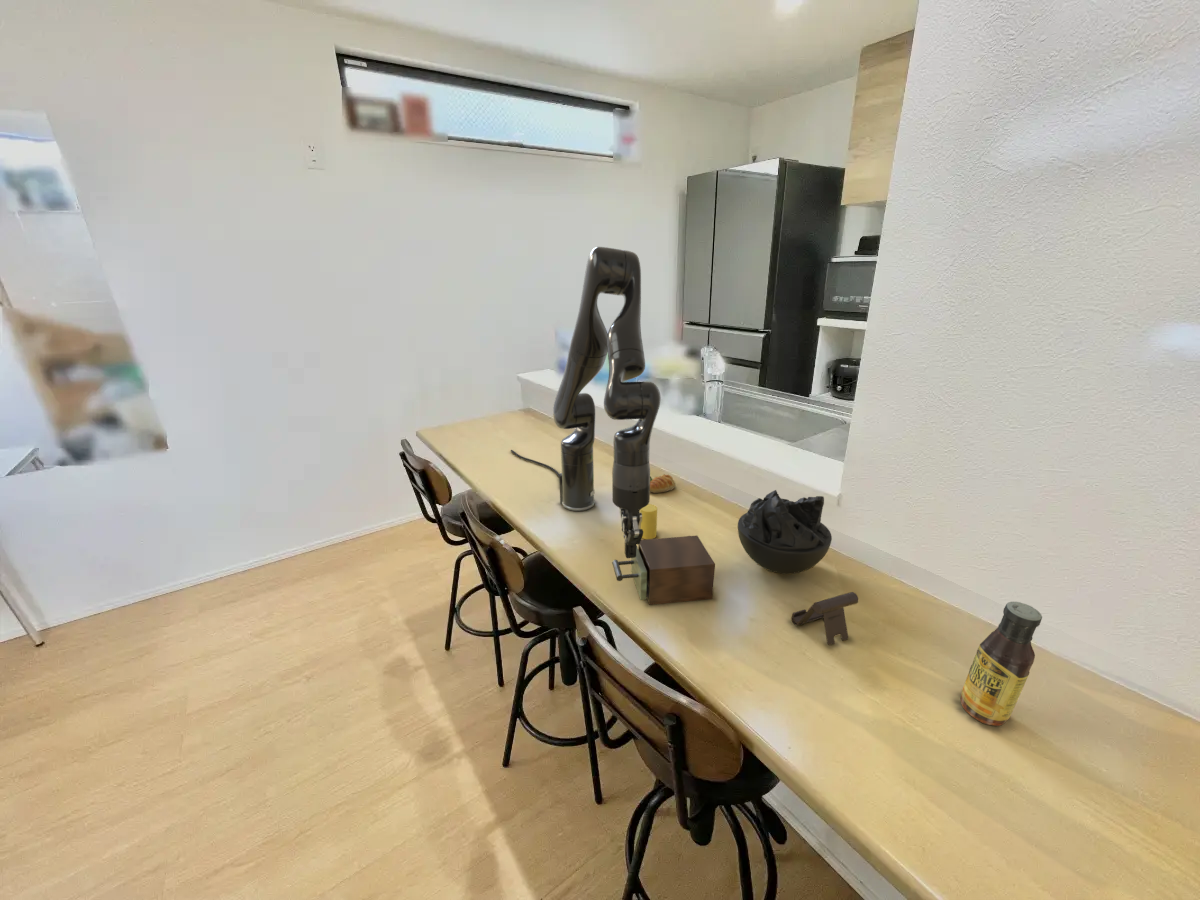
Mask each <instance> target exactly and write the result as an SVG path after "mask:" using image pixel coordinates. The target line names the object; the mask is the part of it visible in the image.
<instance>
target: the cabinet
mask: <svg viewBox="0 0 1200 900" xmlns="http://www.w3.org/2000/svg"><path fill="white" fill-rule="evenodd" d="M637 548H638V550H639V553H640V555H641V558H642V560H643V556H644V558H645V561H646V563H647V566H648V569H649V587H648V584H647V591H646V601H647V603H648V605H649V606H651V605H664V604H673V603H684V602H691V601H692V602H695V601H704V600H712V599H713V594H714V583H715V571H716V563H715V562H714V559H713V558H712V557H711V554H710V553H709V552H708V549H706V547H705V545H704V543H703V542H702V541H701V539H700V537H699V535H686V536H685V535H684V536H674V537H673V536H672V537H662V538H661V537H660V538H654V539H641V541H640V544H637Z"/></svg>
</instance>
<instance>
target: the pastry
mask: <svg viewBox="0 0 1200 900" xmlns="http://www.w3.org/2000/svg"><path fill="white" fill-rule="evenodd" d="M675 487H676V482H675V480H674V478H673V476H671V475H670V474H665V473H663V474H662V475H659V476H655V477H654V478H652V480H651V481H650V493H653V494H658V493H664V492H669V491H672V490H673V489H675Z"/></svg>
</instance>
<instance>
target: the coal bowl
mask: <svg viewBox="0 0 1200 900" xmlns="http://www.w3.org/2000/svg"><path fill="white" fill-rule="evenodd" d="M824 505H825V497H824V496H823V495H817V496H808V497H805V496H803V497H801V498H798V499H797V500H796V501H794V500H793V501H792V500H789V499H786V498H782V497H780V495H779V493H778V491H777V489H775V490H772V491H771V492H769V493H767V494H766V495H765V496H764V497H763V499H762V498H760V497H759V498H757V499H755V500H753V501H752V502H751V503H750V505H749V506H750V507H749V508H748V510H747V512H745V513H743V514H742V515H741V516H740V517H739V518H738V521H737V534H738V539H739V541H740V544H741V546H742V547H743V548H742V549H744V551H745V553H746V554H747V556H748V557H749V558H750V559H751V560H752V561H753V562H755V563H756V565H758V566H760V567H762V568H763V569H765V570H767V571H770V572H773V573H777V574H783V575H791V574H792V575H793V574H799V573H802V572H805V571H807V570H810V569H811V568H813V567H815V566H816V565H817V564H818V563H820V562H821V561H822V560H823V559H824V557H825V555H826V554H827V553H828V551H829V549H830V547H831V545H832V540H833V538H832V537H833V536H832V533H831V531H830V529H829V528H828V527H827V526H826V525H825V524H824V523H822V522H821V521H822V515H823V508H824Z"/></svg>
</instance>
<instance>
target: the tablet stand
mask: <svg viewBox="0 0 1200 900" xmlns="http://www.w3.org/2000/svg"><path fill="white" fill-rule="evenodd" d="M858 603H859V596H858V595H857V593H856V592H854V591H850V592H847V593H843V594H840V595H835V596H833V597H830V598H829V597H828V598H826V599H822V600H819V601H815V602H813V604H811V606H810V607H809V608H808V610H807V609H802V610H798V611H794V612H792V614H791V618H790V619H791V622H792V624H793V625H794V626H801V625H803V624H806V623H810V622H813V621H816V620H820V619H823V622H824V630H825V636H826V642H827V644H828V645H829V646H832V645H834V644H835V637H837V636H840V639H841V641H842V642H844V641H847V640H848V639H849V633H848V627H847V620H846V613H845V608H847V607H849V606H852V605H857V604H858Z"/></svg>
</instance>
